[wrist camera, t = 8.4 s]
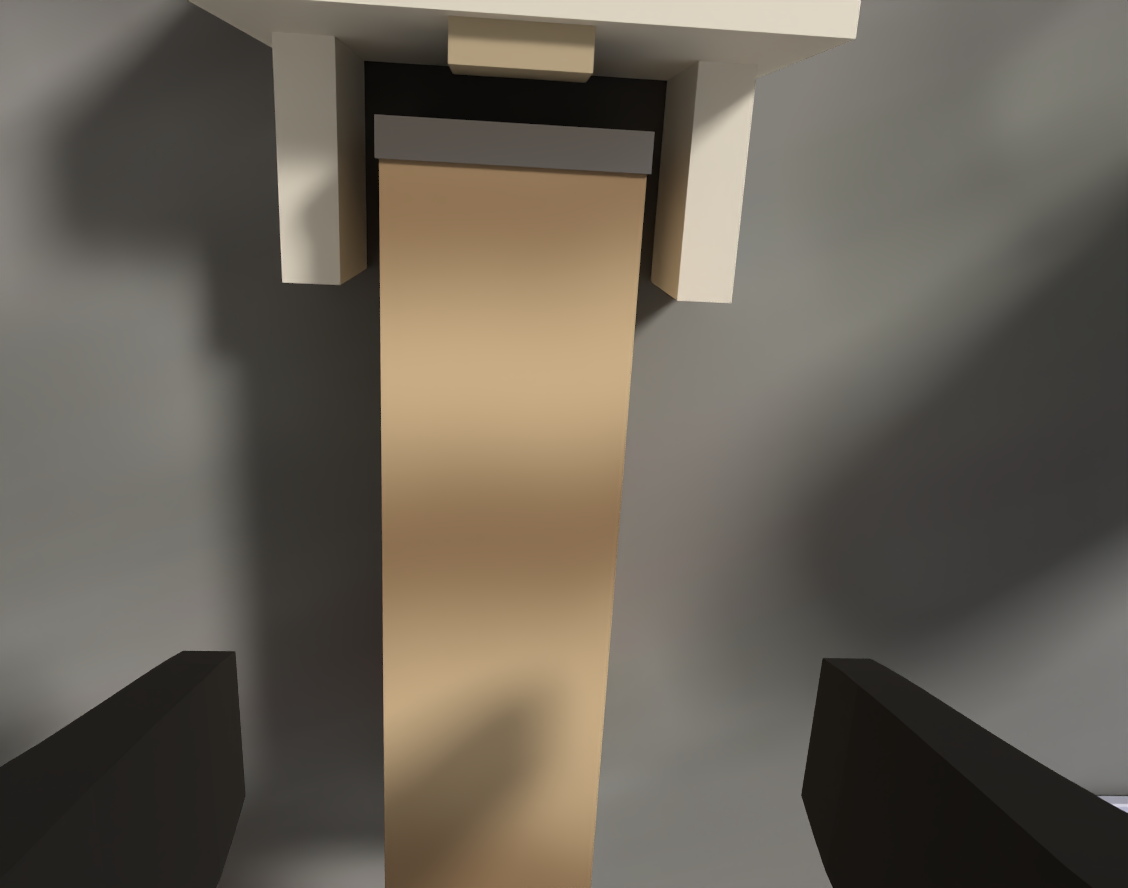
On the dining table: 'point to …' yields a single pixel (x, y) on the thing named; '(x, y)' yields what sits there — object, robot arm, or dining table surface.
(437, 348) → the rail
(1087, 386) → the dining table surface
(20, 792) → the robot arm
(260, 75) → the dining table surface
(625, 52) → the post
